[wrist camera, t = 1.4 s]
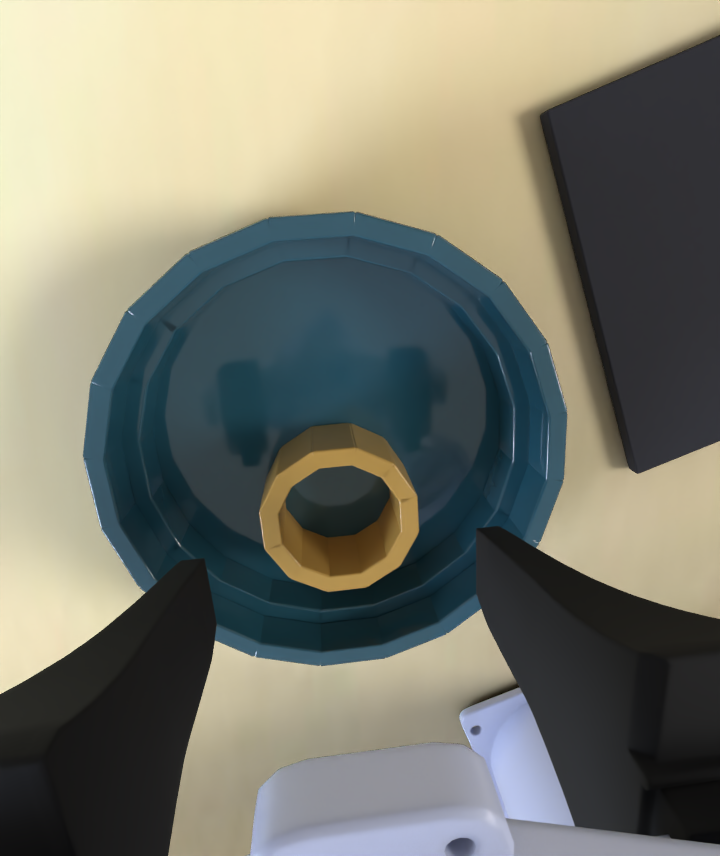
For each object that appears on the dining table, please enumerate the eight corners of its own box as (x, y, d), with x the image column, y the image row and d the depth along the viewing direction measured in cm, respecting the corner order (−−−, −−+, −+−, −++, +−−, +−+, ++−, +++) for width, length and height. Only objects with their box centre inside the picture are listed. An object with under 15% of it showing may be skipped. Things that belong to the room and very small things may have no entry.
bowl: (565, 519, 21) (613, 568, 18) (239, 650, 22) (226, 722, 18) (451, 149, 17) (485, 122, 13) (43, 326, 17) (-22, 342, 14)
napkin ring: (430, 502, 20) (447, 537, 17) (320, 573, 20) (321, 616, 18) (355, 396, 18) (361, 417, 16) (238, 475, 19) (227, 508, 16)
